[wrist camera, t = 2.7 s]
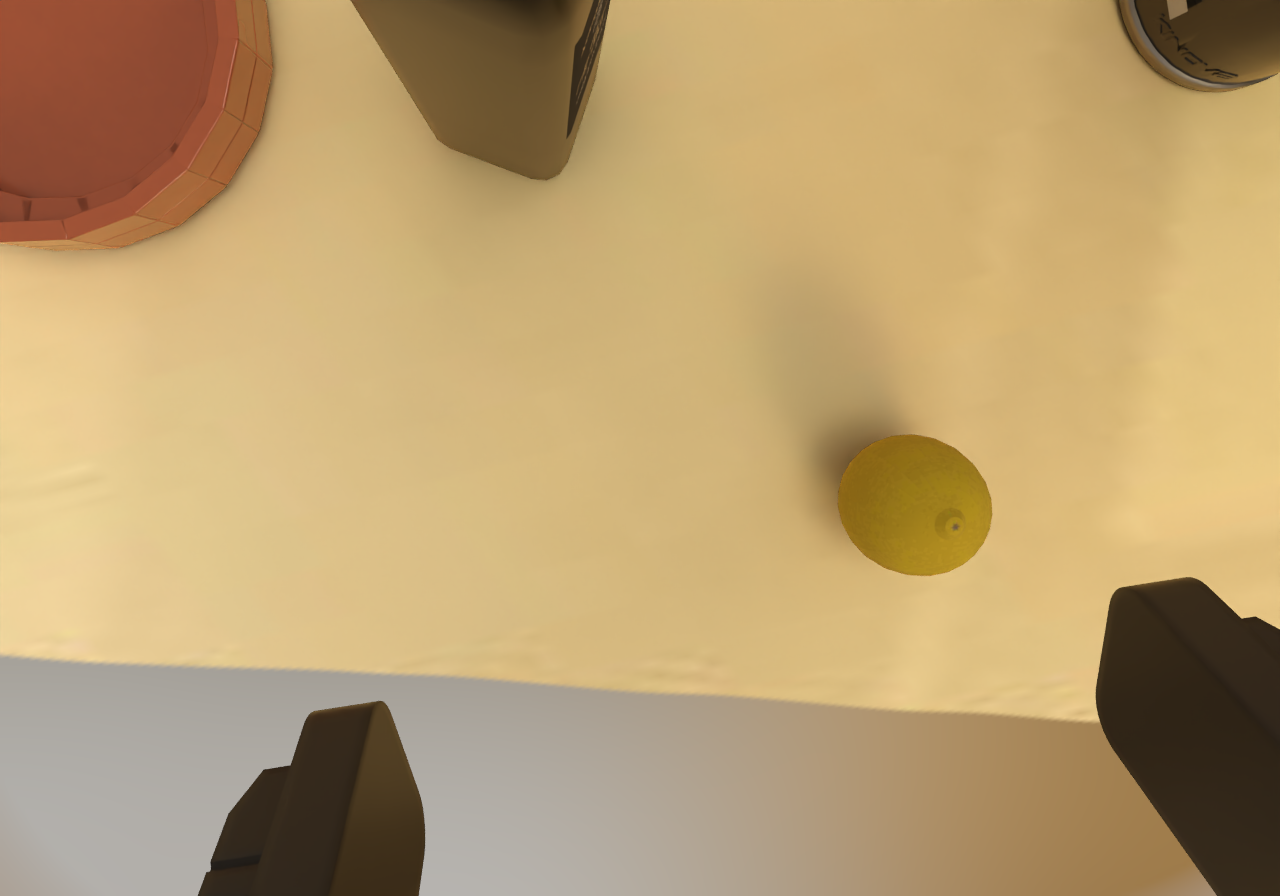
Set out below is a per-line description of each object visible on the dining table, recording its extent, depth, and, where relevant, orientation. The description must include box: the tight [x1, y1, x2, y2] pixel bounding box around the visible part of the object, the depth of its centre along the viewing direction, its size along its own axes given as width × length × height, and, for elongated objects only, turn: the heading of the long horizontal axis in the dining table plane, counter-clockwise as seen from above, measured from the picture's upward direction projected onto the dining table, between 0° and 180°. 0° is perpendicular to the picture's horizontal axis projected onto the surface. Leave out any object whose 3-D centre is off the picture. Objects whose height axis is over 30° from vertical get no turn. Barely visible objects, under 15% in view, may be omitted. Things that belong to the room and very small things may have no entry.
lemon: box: [838, 435, 992, 576], centre depth 36 cm, size 6×6×8 cm
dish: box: [0, 0, 273, 251], centre depth 32 cm, size 15×15×4 cm
